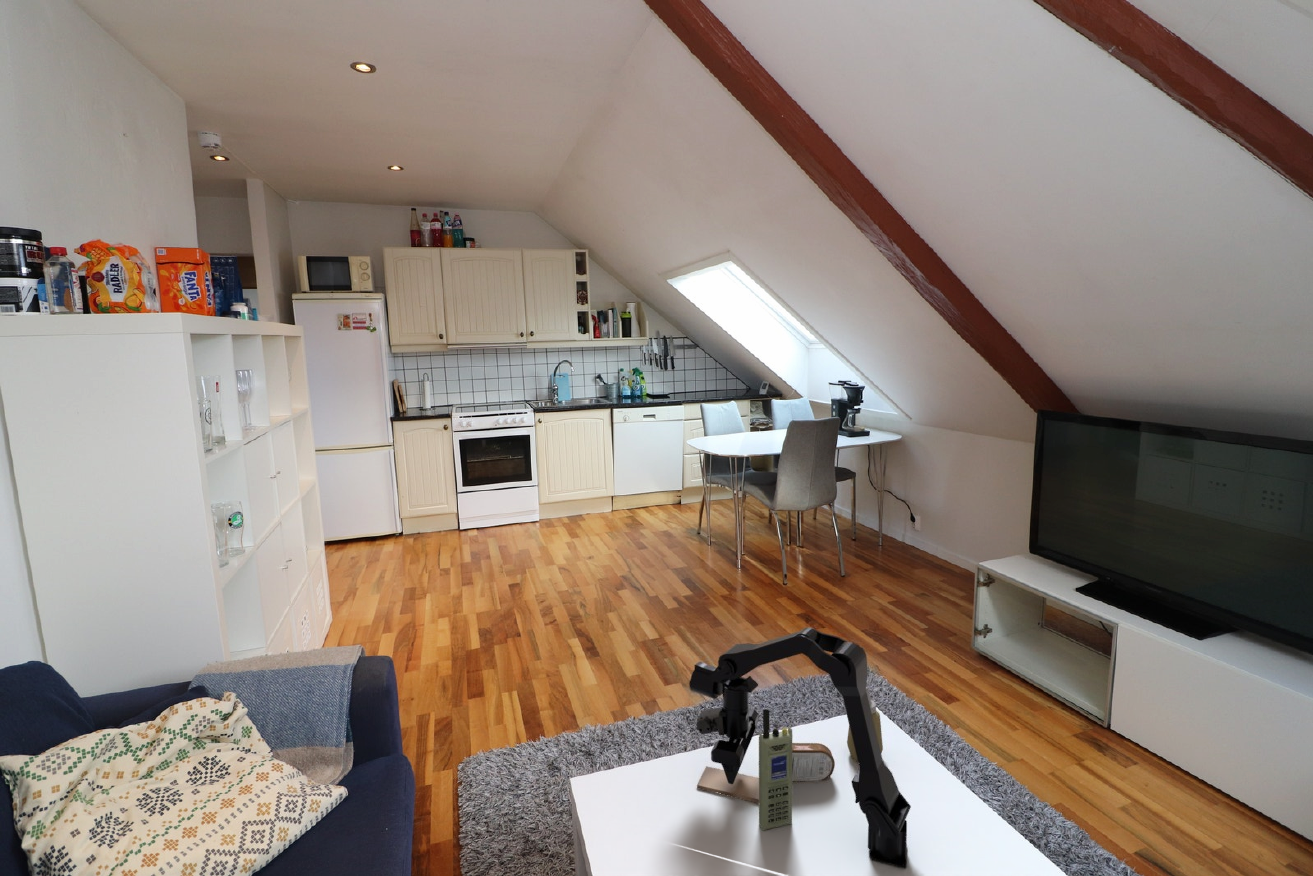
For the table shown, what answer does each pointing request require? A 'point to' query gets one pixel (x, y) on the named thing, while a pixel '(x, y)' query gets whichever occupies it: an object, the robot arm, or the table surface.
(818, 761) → the tin
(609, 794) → the table surface
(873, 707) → the squeeze bottle
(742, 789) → the walnut board
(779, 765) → the handheld radio
